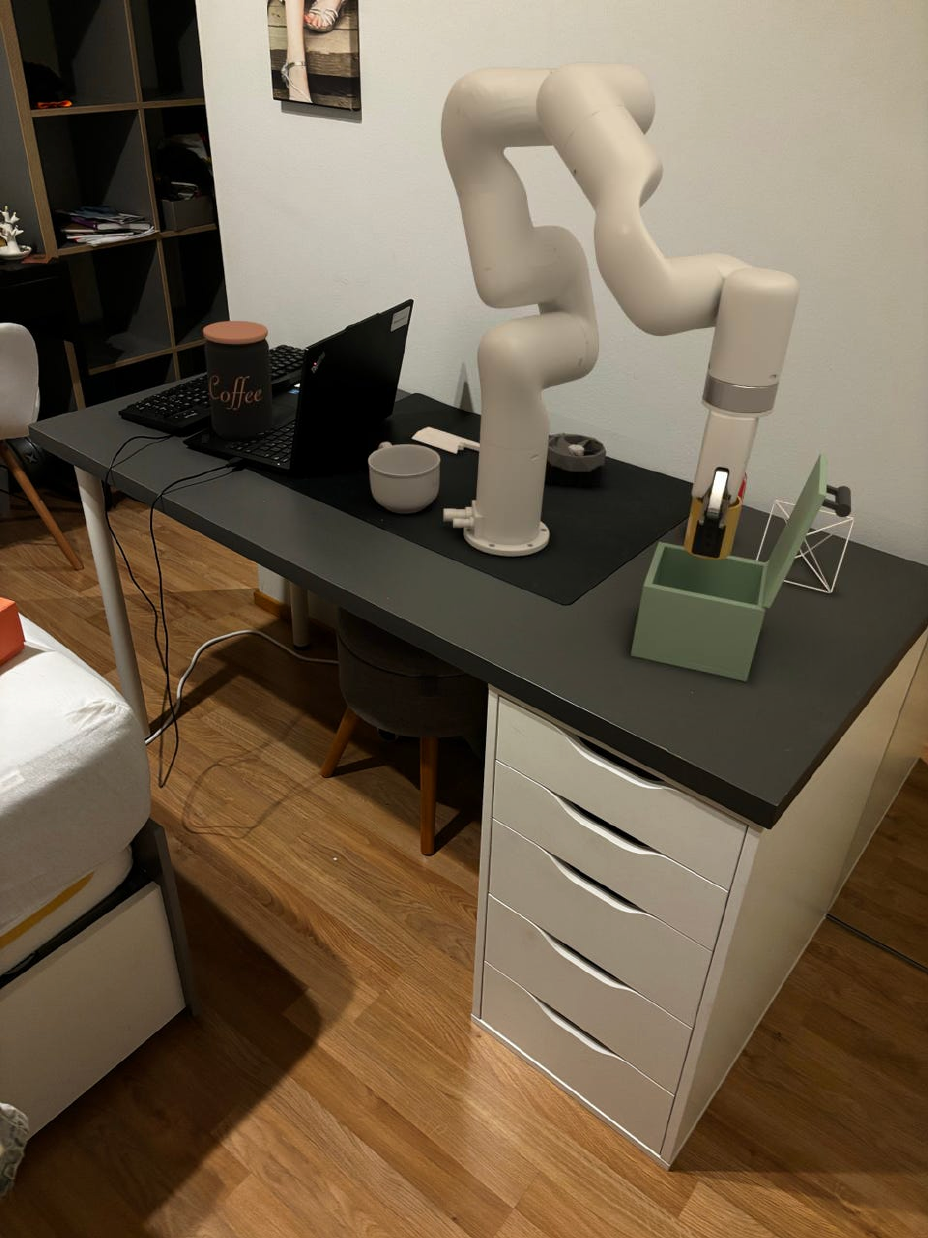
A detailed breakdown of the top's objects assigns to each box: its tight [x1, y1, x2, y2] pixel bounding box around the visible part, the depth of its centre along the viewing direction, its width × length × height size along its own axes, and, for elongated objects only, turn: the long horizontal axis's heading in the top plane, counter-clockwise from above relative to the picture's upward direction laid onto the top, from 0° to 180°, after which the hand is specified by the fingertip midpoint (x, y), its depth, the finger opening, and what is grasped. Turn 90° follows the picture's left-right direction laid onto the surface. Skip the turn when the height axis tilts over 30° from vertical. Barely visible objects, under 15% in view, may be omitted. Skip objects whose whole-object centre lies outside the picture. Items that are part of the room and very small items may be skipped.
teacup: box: [367, 441, 441, 514], centre depth 145 cm, size 14×11×8 cm
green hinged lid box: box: [630, 541, 769, 682], centre depth 115 cm, size 14×12×10 cm
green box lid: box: [763, 452, 852, 609], centre depth 106 cm, size 15×12×4 cm
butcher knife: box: [411, 426, 480, 455], centre depth 166 cm, size 5×15×1 cm, turn 53°
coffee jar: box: [202, 320, 275, 442], centre depth 163 cm, size 11×11×18 cm
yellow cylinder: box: [683, 490, 743, 560], centre depth 109 cm, size 5×5×6 cm
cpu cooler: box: [544, 432, 607, 489], centre depth 157 cm, size 10×6×10 cm
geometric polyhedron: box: [755, 499, 855, 594], centre depth 131 cm, size 12×11×9 cm
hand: (708, 542), depth 110 cm, fingers closed on yellow cylinder, 5 cm apart
